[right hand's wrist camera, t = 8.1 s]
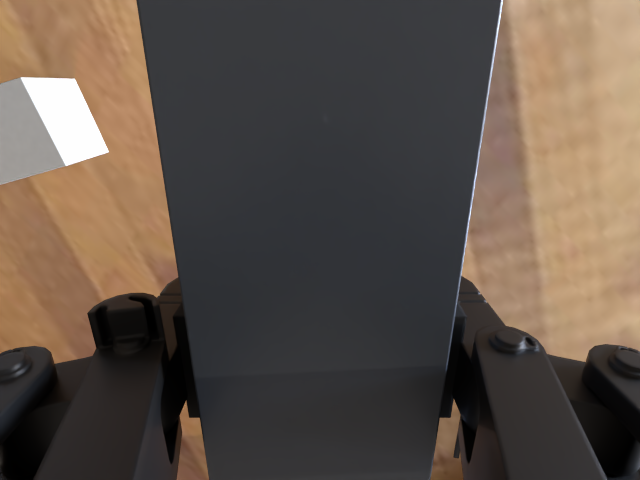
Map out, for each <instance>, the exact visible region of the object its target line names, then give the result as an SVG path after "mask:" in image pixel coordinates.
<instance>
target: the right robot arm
mask: <svg viewBox="0 0 640 480" xmlns="http://www.w3.org/2000/svg"><path fill="white" fill-rule="evenodd" d="M87 314H88V318H89V321H90V325H91V329H92V333H93V337H94V341H95V344H96V350H95V352H94V354H93V356H90V357H86V358H82V359H77V360H72V361H67V362H62V363H57V364H54V360H53V357H52V354H51V352H50V351H49V350H47V349H46V348H44V347H37V346H31V347H20V348H15V349H13V350H8V351H5V352H2V353H1V354H0V480H177V471H178V463H179V454H180V446H181V438H182V428H181V422H180V416H179V415H180V413H181V411H182V408H183V406H184V404H185V401H187V407H188V413H189V418H200V415H199V408H198V402H197V395H196V388H195V382H194V375H193V369H192V362H191V356H190V349H189V342H188V336H187V329H186V323H185V316H184V309H183V303H182V296H181V290H180V283H179V277H178V278H176V279H175V280H173V281H172V282H170V283H168V284H167V286H166V287H165V288H164V289H163V291H162V292H161V293H160V296H158V297H157V298H156V297H155V296H154V295H151V294H146V293H129V294H123V295H118V296H115V297H112V298H110V299H107V300H104V301H103V302H101V303H99V304H97V305H96V306H94V307H93V308H92V309H91V310H90V311H89V312H88V313H87ZM453 399H454V400H455V402H456V405H457V407H458V409H459V412H460V414H461V416H460V422H459V428H458V433H457V439H456V444H455V450H454V458H459V454H461V462H462V470H463V479H464V480H640V352H639V351H638V350H635V349H632V348H627V347H624V346H618V345H608V344H604V345H598V346H594V347H593V348H592V349H591V350H589V353H588V356H587V359H586V362H582V361H577V360H572V359H567V358H562V357H556V356H552V355H549V354H546V352H545V350H544V348H543V346H542V345H541V344H540V343H539V341H538V340H537V339H535V338H534V337H532V336H531V335H529V334H528V333H526V332H523V331H521V330H518V329H516V328H512V327H508V326H505V324H504V323H503V322H502V321H501V319H500V318H499V317H498V315H497V314H496V313H495V311H494V310H493V309H492V308H491V306H490V305H489V304H488V303H486V300H485V299H484V297H483V296H482V295H481V294H480V292H479V291H478V289H477V288H476V287H475V286H474V284H473V283H472V282H470V281H469V280H467V279H466V278H464V277H462V276H461V280H460V287H459V293H458V300H457V306H456V313H455V319H454V326H453V333H452V339H451V346H450V352H449V359H448V366H447V372H446V379H445V385H444V392H443V399H442V405H441V412H440V418H450V417H451V411H452V405H453Z"/></svg>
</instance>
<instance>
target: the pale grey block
mask: <svg viewBox="0 0 640 480" xmlns="http://www.w3.org/2000/svg"><path fill="white" fill-rule="evenodd" d="M108 152H109V151H108V149H107V147H106V145H105V143H104V140H103V138H102V136H101V134H100V132H99V130H98V128H97V125H96V123H95V121H94V119H93V117H92V115H91V113H90V110H89V108H88V106H87V104H86V102H85V100H84V98H83V95H82V93H81V91H80V89H79V87H78V85H77V83H76V80H75V79H66V78H26V77H20V78H17V79H14V80H11V81H7V82H4V83H1V84H0V185H1V184H5V183H8V182H12V181H15V180H19V179H22V178H26V177H29V176H33V175H36V174H40V173H43V172H47V171H50V170H54V169H57V168H61V167H64V166H67V165H71V164H74V163H77V162H80V161H83V160H86V159H89V158H93V157H96V156H99V155H102V154H105V153H108Z"/></svg>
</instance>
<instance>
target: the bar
mask: <svg viewBox="0 0 640 480" xmlns="http://www.w3.org/2000/svg"><path fill="white" fill-rule="evenodd" d="M502 3H503V0H137V7H138V13H139V20H140V26H141V33H142V39H143V46H144V53H145V59H146V66H147V72H148V79H149V86H150V92H151V99H152V105H153V112H154V119H155V125H156V132H157V138H158V145H159V151H160V158H161V165H162V171H163V178H164V184H165V191H166V198H167V204H168V211H169V217H170V224H171V230H172V237H173V244H174V250H175V257H176V263H177V270H178V277H179V283H180V290H181V296H182V303H183V309H184V316H185V323H186V329H187V336H188V342H189V349H190V356H191V362H192V369H193V375H194V382H195V388H196V395H197V402H198V408H199V415H200V421H201V428H202V435H203V441H204V448H205V454H206V461H207V467H208V474H209V480H430V478H431V471H432V465H433V458H434V451H435V445H436V438H437V432H438V425H439V418H440V412H441V405H442V399H443V392H444V385H445V379H446V372H447V366H448V359H449V352H450V346H451V339H452V333H453V326H454V319H455V313H456V306H457V300H458V293H459V287H460V280H461V273H462V267H463V260H464V254H465V247H466V240H467V234H468V227H469V221H470V214H471V207H472V201H473V194H474V188H475V181H476V174H477V168H478V161H479V155H480V148H481V141H482V135H483V128H484V122H485V115H486V108H487V102H488V95H489V89H490V82H491V75H492V69H493V62H494V56H495V49H496V42H497V36H498V29H499V23H500V16H501V9H502Z"/></svg>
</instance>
